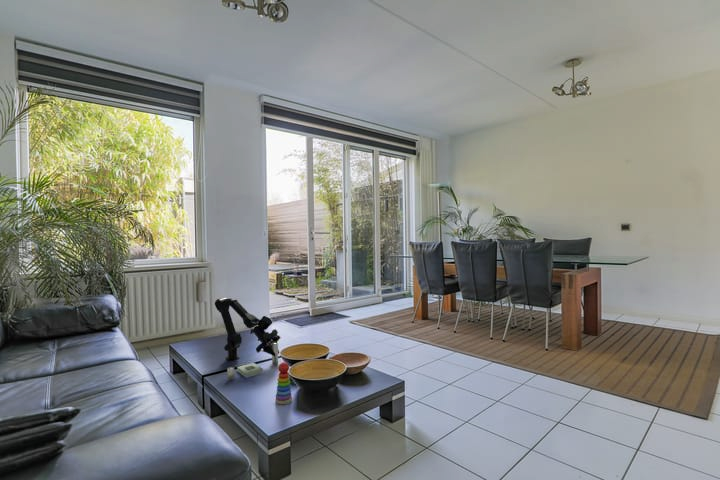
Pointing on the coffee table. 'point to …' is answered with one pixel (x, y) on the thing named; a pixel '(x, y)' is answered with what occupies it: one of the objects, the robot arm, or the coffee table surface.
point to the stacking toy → (283, 385)
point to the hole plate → (250, 370)
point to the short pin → (230, 373)
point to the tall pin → (275, 358)
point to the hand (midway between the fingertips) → (277, 354)
